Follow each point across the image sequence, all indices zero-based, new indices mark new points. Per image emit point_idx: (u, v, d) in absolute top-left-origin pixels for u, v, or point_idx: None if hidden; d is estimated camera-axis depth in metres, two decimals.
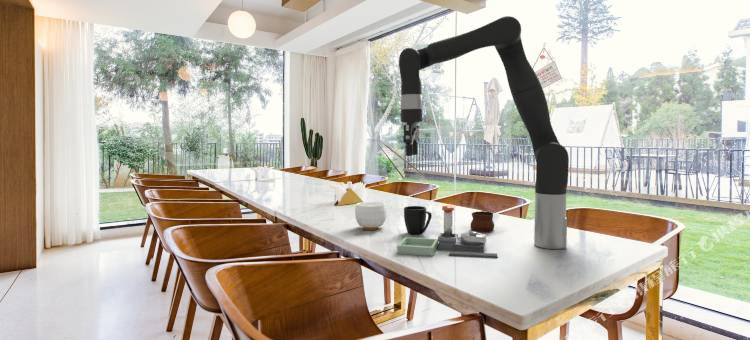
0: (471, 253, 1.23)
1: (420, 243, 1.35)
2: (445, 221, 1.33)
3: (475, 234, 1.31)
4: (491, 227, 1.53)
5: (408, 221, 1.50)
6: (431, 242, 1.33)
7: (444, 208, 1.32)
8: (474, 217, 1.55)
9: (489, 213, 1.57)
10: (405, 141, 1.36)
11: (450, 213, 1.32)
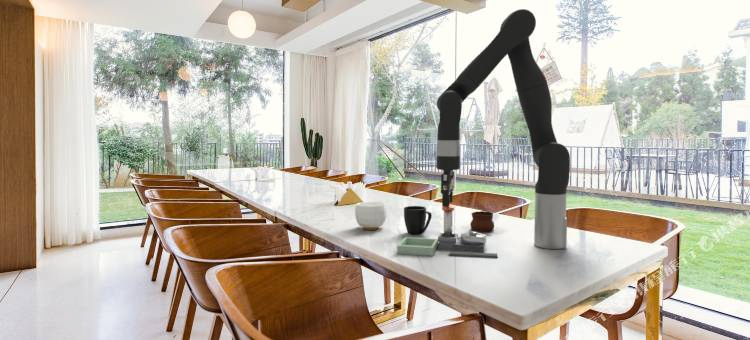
0: (471, 253, 1.23)
1: (420, 243, 1.35)
2: (445, 221, 1.33)
3: (475, 234, 1.31)
4: (491, 227, 1.53)
5: (408, 221, 1.50)
6: (431, 242, 1.33)
7: (444, 208, 1.32)
8: (474, 217, 1.55)
9: (489, 213, 1.57)
10: (442, 192, 1.26)
11: (450, 213, 1.32)
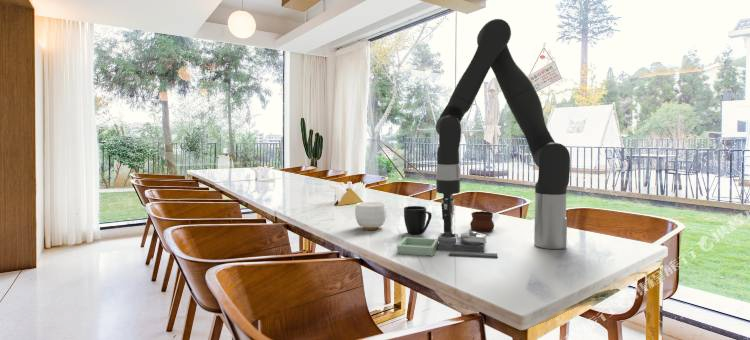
0: (471, 253, 1.23)
1: (420, 243, 1.35)
2: None
3: (475, 234, 1.31)
4: (491, 227, 1.53)
5: (408, 221, 1.50)
6: (431, 242, 1.33)
7: None
8: (474, 217, 1.55)
9: (489, 213, 1.57)
10: (444, 219, 1.30)
11: None
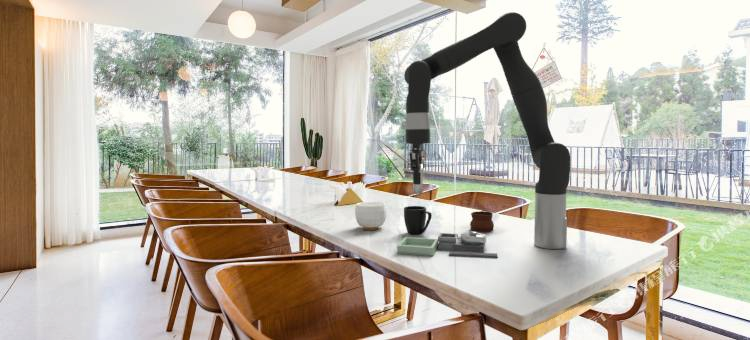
0: (471, 253, 1.23)
1: (420, 243, 1.35)
2: None
3: (475, 234, 1.31)
4: (490, 227, 1.53)
5: (408, 221, 1.50)
6: (431, 242, 1.33)
7: None
8: (473, 217, 1.55)
9: (489, 213, 1.57)
10: (413, 169, 1.24)
11: None
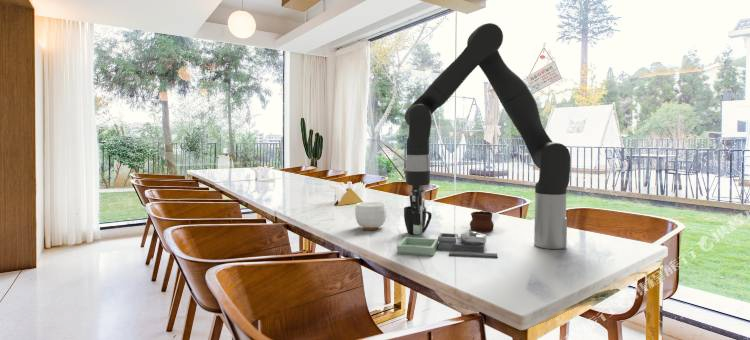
0: (471, 253, 1.23)
1: (420, 243, 1.35)
2: None
3: (475, 234, 1.31)
4: (490, 227, 1.53)
5: (408, 221, 1.50)
6: (431, 242, 1.33)
7: None
8: (473, 217, 1.55)
9: (488, 213, 1.57)
10: (413, 211, 1.25)
11: None
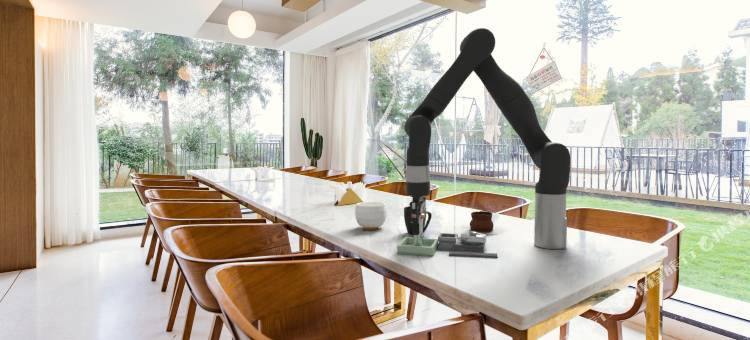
0: (471, 253, 1.23)
1: None
2: None
3: (475, 234, 1.31)
4: (491, 227, 1.53)
5: (408, 221, 1.50)
6: (431, 242, 1.33)
7: None
8: (474, 217, 1.55)
9: (488, 213, 1.58)
10: (411, 220, 1.23)
11: (420, 221, 1.28)
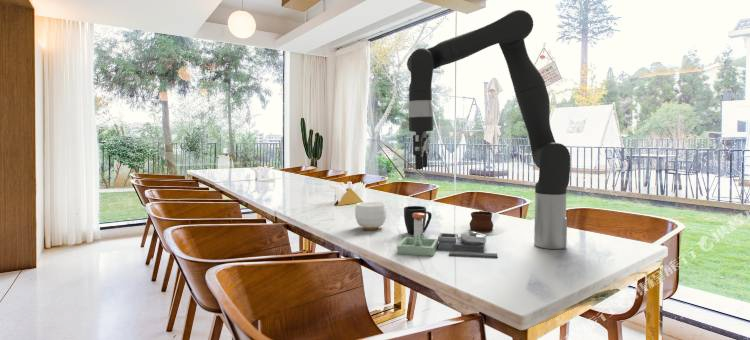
0: (471, 253, 1.23)
1: None
2: (415, 228, 1.29)
3: (475, 234, 1.31)
4: (491, 227, 1.53)
5: (408, 221, 1.50)
6: (431, 242, 1.33)
7: (414, 215, 1.28)
8: (473, 217, 1.54)
9: (487, 213, 1.58)
10: (415, 153, 1.22)
11: (420, 220, 1.28)
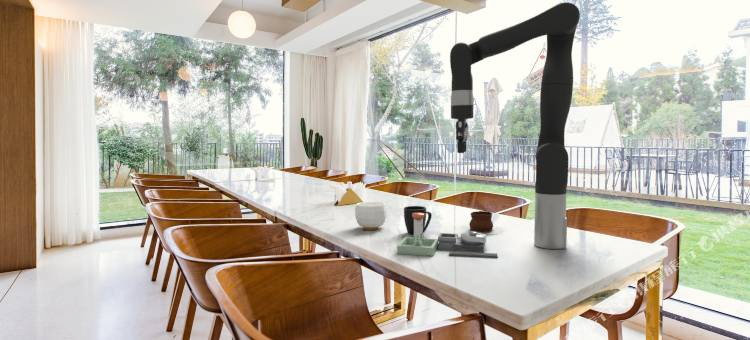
0: (471, 253, 1.23)
1: None
2: (415, 229, 1.29)
3: (475, 234, 1.31)
4: (490, 227, 1.53)
5: (408, 221, 1.50)
6: (431, 242, 1.33)
7: (414, 215, 1.28)
8: (473, 217, 1.55)
9: (487, 213, 1.58)
10: (458, 138, 1.33)
11: (420, 220, 1.28)
